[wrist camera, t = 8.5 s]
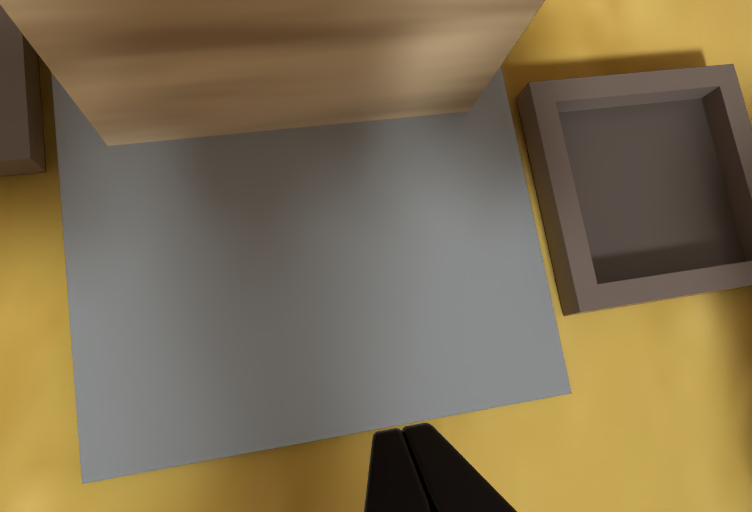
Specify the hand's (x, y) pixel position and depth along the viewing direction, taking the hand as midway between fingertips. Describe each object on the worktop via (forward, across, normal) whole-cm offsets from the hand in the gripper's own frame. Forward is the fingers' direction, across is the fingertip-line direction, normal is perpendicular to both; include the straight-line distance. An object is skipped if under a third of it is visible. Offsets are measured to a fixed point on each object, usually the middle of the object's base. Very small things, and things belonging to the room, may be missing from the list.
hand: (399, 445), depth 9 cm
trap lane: (+16, 0, -1) cm, 16 cm away
